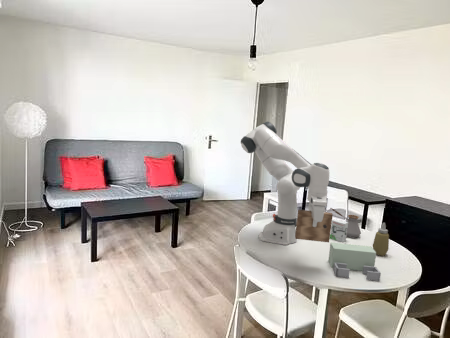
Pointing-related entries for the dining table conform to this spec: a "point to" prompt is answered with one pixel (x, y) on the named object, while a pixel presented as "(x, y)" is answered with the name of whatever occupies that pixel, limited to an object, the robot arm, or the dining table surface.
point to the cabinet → (353, 260)
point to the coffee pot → (351, 225)
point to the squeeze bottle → (381, 241)
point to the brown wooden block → (313, 233)
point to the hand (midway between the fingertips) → (313, 224)
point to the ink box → (339, 230)
